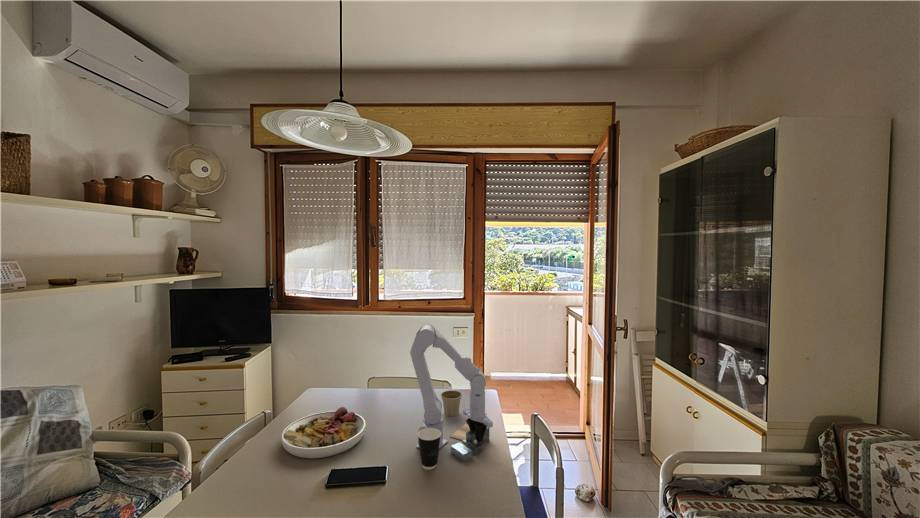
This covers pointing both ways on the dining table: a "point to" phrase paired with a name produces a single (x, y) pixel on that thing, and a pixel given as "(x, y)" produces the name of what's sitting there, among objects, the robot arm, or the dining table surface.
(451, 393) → the flower pot
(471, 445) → the uneven u-shaped block
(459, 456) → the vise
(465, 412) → the robot arm
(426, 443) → the dixie cup
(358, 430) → the bowl
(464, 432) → the plate
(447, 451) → the dining table surface
